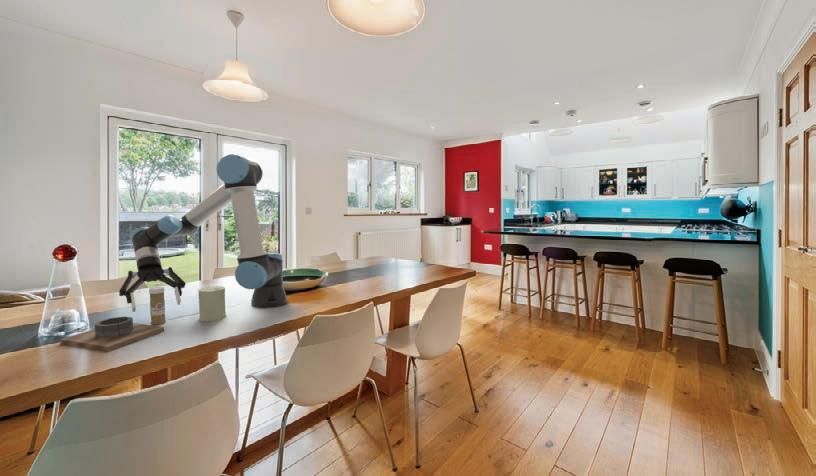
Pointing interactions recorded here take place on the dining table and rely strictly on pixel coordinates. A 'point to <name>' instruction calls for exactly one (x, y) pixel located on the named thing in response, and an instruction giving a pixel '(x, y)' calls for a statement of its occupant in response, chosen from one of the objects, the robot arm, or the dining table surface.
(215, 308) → the can
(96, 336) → the bottle holder
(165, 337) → the dining table surface
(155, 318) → the sprinkles bottle
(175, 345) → the dining table surface
